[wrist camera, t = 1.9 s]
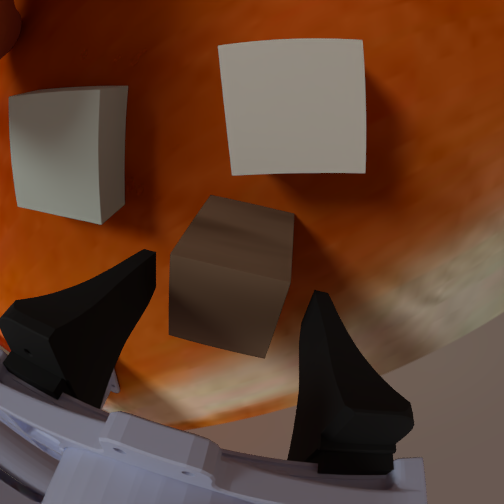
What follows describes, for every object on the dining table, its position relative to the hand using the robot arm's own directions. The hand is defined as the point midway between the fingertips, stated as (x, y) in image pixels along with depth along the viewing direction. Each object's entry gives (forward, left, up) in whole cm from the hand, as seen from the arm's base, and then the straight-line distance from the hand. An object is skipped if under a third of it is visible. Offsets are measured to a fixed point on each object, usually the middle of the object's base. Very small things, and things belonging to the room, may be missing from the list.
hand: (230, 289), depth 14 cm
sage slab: (+4, +11, -5) cm, 13 cm away
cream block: (+8, -1, -5) cm, 9 cm away
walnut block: (0, 0, -5) cm, 5 cm away
